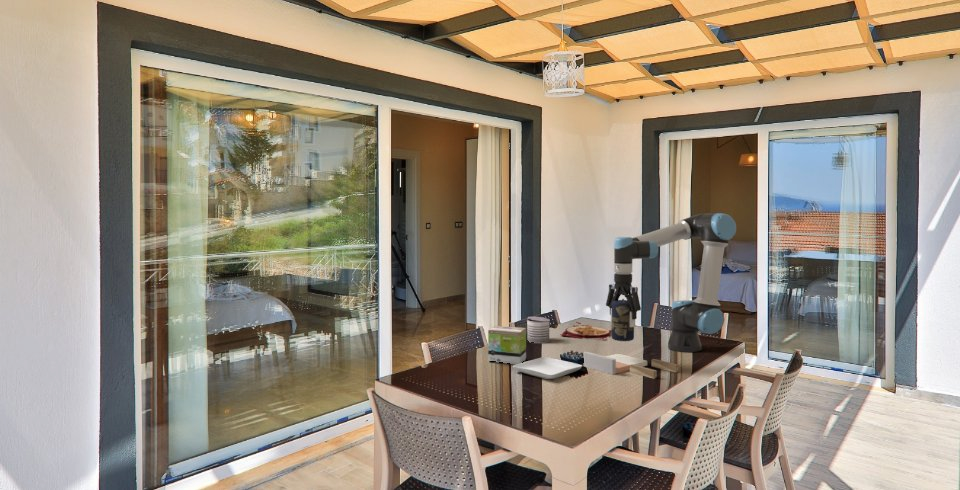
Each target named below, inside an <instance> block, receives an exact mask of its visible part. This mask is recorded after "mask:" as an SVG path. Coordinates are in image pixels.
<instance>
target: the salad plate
mask: <svg viewBox="0 0 960 490" xmlns="http://www.w3.org/2000/svg"><path fill="white" fill-rule="evenodd" d="M582 367H583V364H578V363H576V362H570V361H566V360H561V359H556V358H552V357H547V356H546V357H545V356H543V357H539V358H535V359H531V360H528V361H524V362H523V363H520V364H512V368H513V369H514V370H516V371H517V372H520V373H523V374H525V375H529V376H532V377H533V376H534V377H537V378H541V379H545V380H553V379H558V378H560V377H561V378H562V377H564V376H566V375H570V374H572V373H574V372H577V371H579V370H580V369H581V368H582Z"/></svg>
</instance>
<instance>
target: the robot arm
mask: <svg viewBox="0 0 960 490" xmlns="http://www.w3.org/2000/svg"><path fill="white" fill-rule="evenodd" d="M736 232H737V224H736V221H735V220H734V219H733V217H732V216H731V215H729V214H727V213H721V212H717V213H716V212H715V213H713V212H712V213H710V212H709V213H706V212H705V213H704V212H703V213H699V214H695V215H692V216H689V217H686V218H683V219H681V220H678V221H677V223H675V224H671V225H669V226H665V227H663V228H659V229H657V230H653V231H650V232H647V233H643V234H640V235H637V236H634V237H629V236H617V237H615V239H614V247H613V250H614V251H613V252H614V259H613V261H614V264H613V265H614V268H613V269H614V274H613V277H614V278H613V282H614V283H613V284H612V283H611V284H609V285H608V294H607V299H606V303H605V306H606V307H608V308H609V315H610V321H611V320H612V302H613V301H615V300H620V296H624V298H626V299H625V300H627V301H628V303H629V304H630V309H631V311H630V327H634V328H635V327H636V320H637V318H638V317H637V315H638V314H637V313H638V312H639V311H641V309H642V308H641V304H640V303H641V302H640V297H639V293H638V292H639V291H638V290H639V289H638V287H637V286H632V282H633V274H632V273H633V260H635V259H637V260H639V259H640V260H641V259H642V260H644V259H648V260H649V259H654V258H656V257H657V256H658V255H659V254H658V252H659V248H660V247H662V246H665V245H667V244H671V243H675V242H677V241H680V240H685V241H688V240H691V239H700V243H702V245H703V252H702V256H701V257H702V260H701V266H700V274H699V280H698V290H697V296H696V298H694V299H693V300H692V299H691V300H690V299H689V300H688V299H687V300H675V301H673V302H672V304H671V332H670V336H669V338H668V342H667V348H668V349H669V350H671V351H676V352H681V353H683V352H684V353H692V352H693V353H695V352H700V351H701V350H702V343H701V339H700V336H699V332H700V333H702V334H708V335H709V334H710V335H712V334H716V333H718V331H720V330H721V329H722V328H723V326H724V324H725V315H724V313H723V311H722V310H721V304H720V302H719V301H718V298H719V290H720V284H721V282H720V281H721V278H722V277H721V276H722V268H723V260H724V253H725V252H724V251H725V249H726V247H727V246H729V243H730V240H731V239H733V237H735V235H736Z"/></svg>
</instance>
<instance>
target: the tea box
mask: <svg viewBox="0 0 960 490" xmlns="http://www.w3.org/2000/svg"><path fill="white" fill-rule="evenodd" d="M487 331H488V332H487V333H488V335H487V353H488V357H487V359H488V362H489V361H496V362H495V363H499V362H503V363H502V364H507V363H510V364H509V365H516V364H520V363H522V362H523V361H524V362H526V359H527V327H517V326H505V325H504V326H503V325H493V326H492V327H491V328H490V329H488V330H487Z"/></svg>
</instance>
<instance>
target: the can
mask: <svg viewBox="0 0 960 490" xmlns="http://www.w3.org/2000/svg"><path fill="white" fill-rule="evenodd" d="M526 322H527V323H526V324H527V326H526V341H527V340H528V341H529V343H531V342H534V343H533V344H546V343H549V342H550V318H546V317H542V316H541V317H540V316H528V317H527V319H526ZM528 341H527V342H528Z"/></svg>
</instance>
